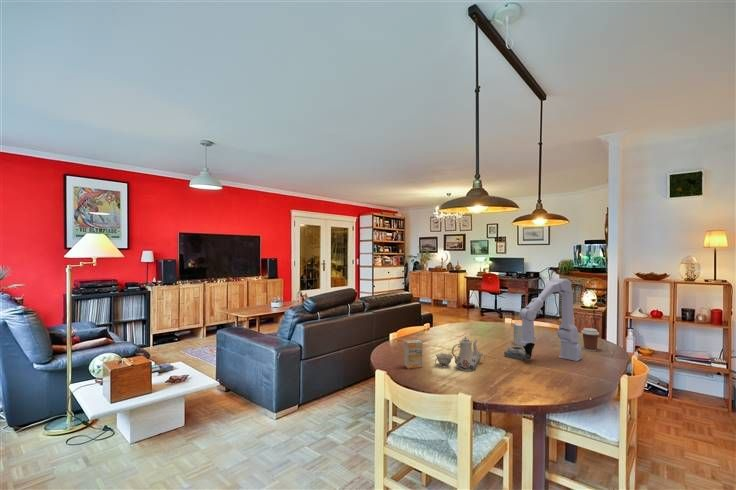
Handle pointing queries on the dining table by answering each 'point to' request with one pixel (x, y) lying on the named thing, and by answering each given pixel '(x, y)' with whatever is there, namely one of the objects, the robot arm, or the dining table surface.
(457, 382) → the dining table surface
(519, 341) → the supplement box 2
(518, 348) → the collar
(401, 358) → the dining table surface
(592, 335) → the coffee cup
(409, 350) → the supplement box
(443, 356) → the chinaware
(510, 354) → the block
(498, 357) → the dining table surface
